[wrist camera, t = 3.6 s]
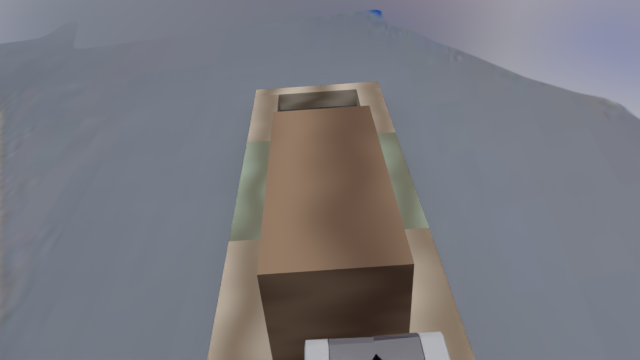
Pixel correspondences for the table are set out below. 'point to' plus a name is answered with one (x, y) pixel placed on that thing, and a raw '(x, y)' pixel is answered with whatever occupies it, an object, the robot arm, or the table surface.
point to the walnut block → (330, 233)
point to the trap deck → (243, 249)
